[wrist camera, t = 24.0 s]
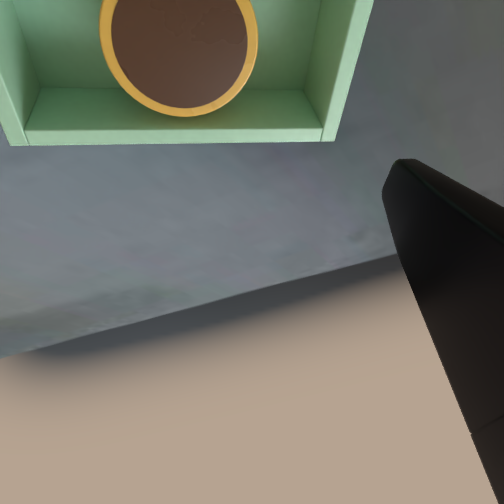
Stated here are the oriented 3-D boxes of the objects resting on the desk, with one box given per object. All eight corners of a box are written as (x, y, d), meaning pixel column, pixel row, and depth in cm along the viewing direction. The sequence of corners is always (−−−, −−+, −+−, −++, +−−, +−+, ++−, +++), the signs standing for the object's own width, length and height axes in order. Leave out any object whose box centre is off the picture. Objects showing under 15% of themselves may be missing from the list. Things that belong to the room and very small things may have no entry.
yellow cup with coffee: (121, 78, 17) (116, 119, 15) (91, -80, 13) (77, -56, 11) (241, 76, 18) (253, 116, 16) (247, -72, 14) (265, -49, 12)
